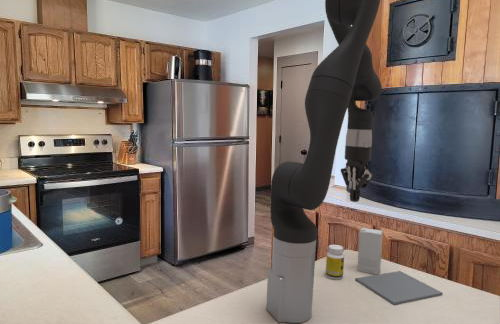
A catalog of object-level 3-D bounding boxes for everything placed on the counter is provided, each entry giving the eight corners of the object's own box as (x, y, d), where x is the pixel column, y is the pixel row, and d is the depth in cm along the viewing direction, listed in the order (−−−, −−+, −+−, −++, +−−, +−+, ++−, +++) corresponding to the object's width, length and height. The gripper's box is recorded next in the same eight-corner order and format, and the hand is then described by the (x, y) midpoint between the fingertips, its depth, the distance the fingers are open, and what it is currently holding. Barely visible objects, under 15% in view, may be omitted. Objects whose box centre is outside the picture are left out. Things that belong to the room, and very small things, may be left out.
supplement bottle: (343, 281, 97) (345, 250, 96) (325, 278, 98) (327, 248, 97) (342, 273, 102) (344, 244, 101) (325, 271, 103) (327, 243, 102)
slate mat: (394, 305, 85) (394, 302, 85) (355, 280, 98) (355, 278, 98) (442, 295, 91) (442, 292, 91) (399, 272, 104) (400, 270, 104)
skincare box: (380, 270, 105) (384, 230, 104) (378, 276, 101) (382, 234, 100) (358, 266, 108) (361, 226, 107) (356, 271, 104) (359, 230, 103)
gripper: (334, 143, 113) (331, 197, 115) (363, 146, 101) (358, 207, 103) (354, 143, 116) (350, 196, 118) (384, 146, 104) (379, 205, 106)
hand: (354, 201), depth 110 cm, fingers closed
